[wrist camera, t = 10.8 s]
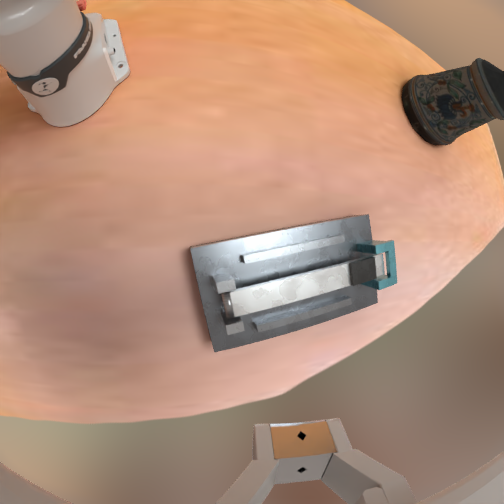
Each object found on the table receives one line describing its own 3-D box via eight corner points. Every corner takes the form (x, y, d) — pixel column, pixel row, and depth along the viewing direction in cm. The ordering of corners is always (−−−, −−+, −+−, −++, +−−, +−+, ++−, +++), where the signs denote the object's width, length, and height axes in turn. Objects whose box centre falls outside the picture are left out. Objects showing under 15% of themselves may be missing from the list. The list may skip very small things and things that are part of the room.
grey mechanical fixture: (190, 246, 37) (190, 251, 28) (357, 214, 42) (390, 212, 34) (211, 340, 38) (218, 367, 30) (366, 296, 44) (398, 308, 36)
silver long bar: (220, 292, 32) (222, 295, 30) (378, 252, 36) (385, 253, 35) (225, 316, 32) (227, 320, 30) (379, 273, 37) (387, 274, 35)
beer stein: (389, 97, 43) (482, 50, 18) (418, 67, 45) (489, 30, 20) (433, 161, 46) (529, 143, 22) (455, 120, 48) (529, 99, 24)
